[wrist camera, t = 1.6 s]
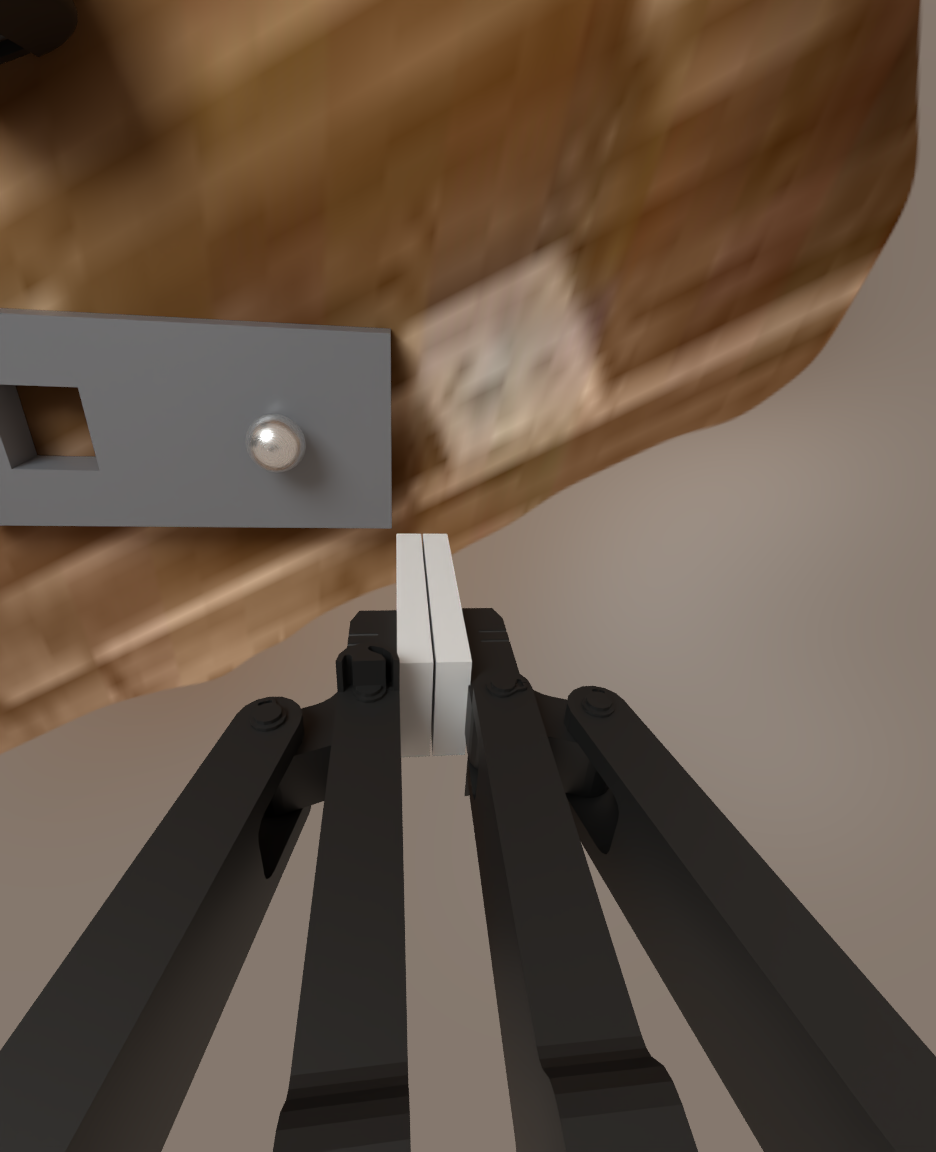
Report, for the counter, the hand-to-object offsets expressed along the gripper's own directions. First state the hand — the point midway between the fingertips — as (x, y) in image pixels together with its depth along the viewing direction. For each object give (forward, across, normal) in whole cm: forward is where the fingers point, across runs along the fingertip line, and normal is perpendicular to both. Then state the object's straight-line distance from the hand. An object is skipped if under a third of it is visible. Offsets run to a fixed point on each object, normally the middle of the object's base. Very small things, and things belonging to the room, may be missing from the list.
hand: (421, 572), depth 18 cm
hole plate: (+18, -13, 0) cm, 23 cm away
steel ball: (+14, -7, 0) cm, 16 cm away
